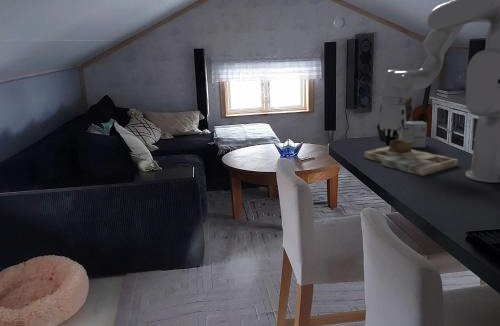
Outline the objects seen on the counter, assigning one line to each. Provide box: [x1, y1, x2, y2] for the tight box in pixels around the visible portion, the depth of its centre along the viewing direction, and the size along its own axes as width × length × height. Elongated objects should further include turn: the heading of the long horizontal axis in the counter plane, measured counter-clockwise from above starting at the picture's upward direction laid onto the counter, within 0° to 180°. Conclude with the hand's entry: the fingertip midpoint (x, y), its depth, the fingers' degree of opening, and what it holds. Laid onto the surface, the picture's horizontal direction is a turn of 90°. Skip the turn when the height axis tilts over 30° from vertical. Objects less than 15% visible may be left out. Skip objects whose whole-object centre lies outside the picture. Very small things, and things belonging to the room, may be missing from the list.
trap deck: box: [363, 146, 459, 177], centre depth 170 cm, size 29×21×2 cm
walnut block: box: [389, 139, 413, 154], centre depth 176 cm, size 6×6×4 cm
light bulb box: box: [398, 120, 428, 148], centre depth 194 cm, size 11×7×11 cm, turn 84°
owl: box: [376, 96, 413, 141], centre depth 207 cm, size 13×13×20 cm
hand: (389, 145), depth 181 cm, fingers closed
